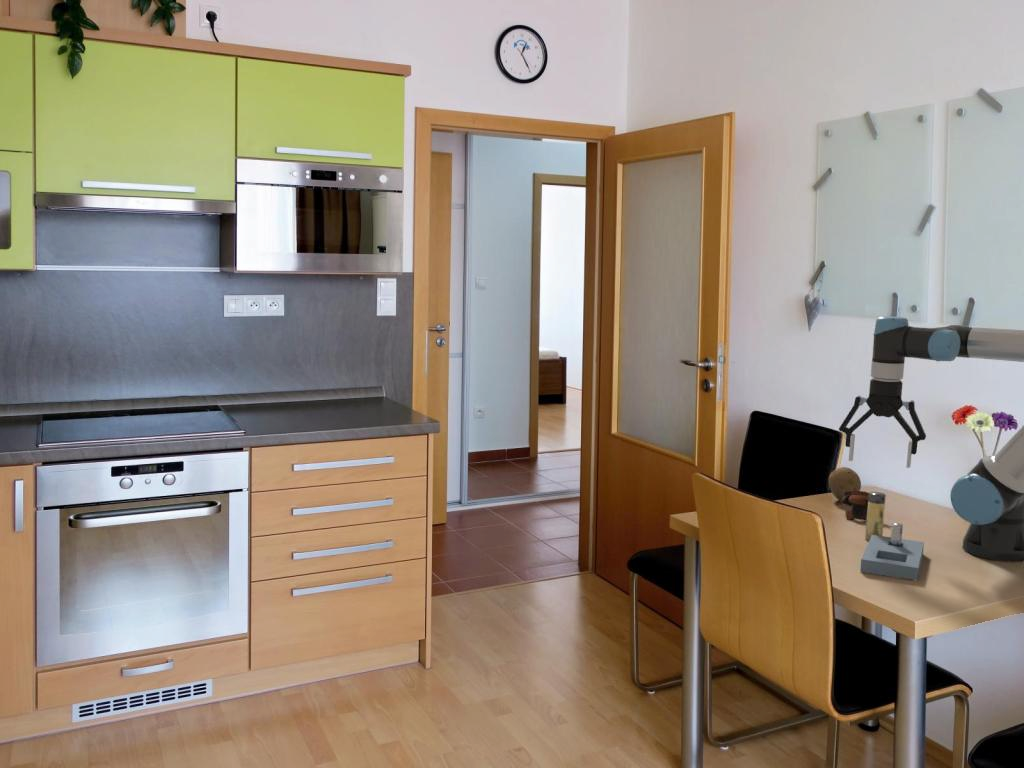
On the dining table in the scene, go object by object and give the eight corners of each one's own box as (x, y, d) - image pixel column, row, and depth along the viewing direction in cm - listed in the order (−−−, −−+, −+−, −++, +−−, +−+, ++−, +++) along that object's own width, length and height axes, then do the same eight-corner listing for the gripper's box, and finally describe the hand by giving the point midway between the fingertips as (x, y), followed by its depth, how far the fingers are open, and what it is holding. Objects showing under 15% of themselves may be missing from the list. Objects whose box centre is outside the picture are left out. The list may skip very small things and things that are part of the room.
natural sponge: (843, 495, 295) (845, 462, 294) (866, 503, 288) (869, 469, 286) (820, 498, 291) (823, 465, 290) (843, 506, 283) (846, 472, 282)
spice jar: (882, 539, 252) (886, 493, 250) (881, 543, 249) (884, 496, 247) (866, 536, 254) (869, 491, 252) (864, 540, 250) (868, 494, 249)
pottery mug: (834, 519, 272) (835, 490, 275) (849, 528, 278) (849, 500, 281) (877, 516, 264) (878, 486, 267) (891, 526, 270) (891, 497, 273)
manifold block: (923, 554, 241) (924, 542, 240) (916, 580, 221) (918, 567, 221) (870, 546, 246) (871, 534, 245) (860, 571, 226) (861, 559, 226)
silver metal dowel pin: (900, 555, 239) (903, 523, 238) (899, 558, 237) (902, 526, 236) (889, 554, 240) (892, 522, 239) (888, 556, 238) (891, 524, 237)
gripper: (942, 382, 243) (934, 466, 247) (836, 373, 254) (829, 454, 257) (940, 385, 237) (932, 472, 240) (831, 376, 247) (825, 459, 250)
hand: (879, 463), depth 248 cm, fingers open, 13 cm apart
